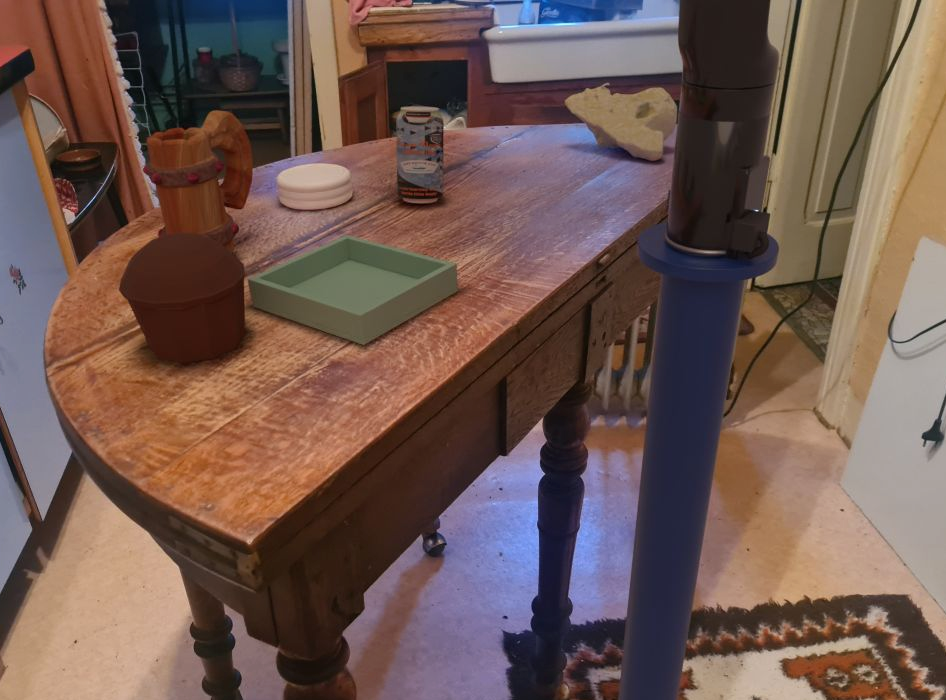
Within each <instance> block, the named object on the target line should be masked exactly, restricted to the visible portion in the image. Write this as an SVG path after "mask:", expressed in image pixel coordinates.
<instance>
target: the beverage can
mask: <svg viewBox="0 0 946 700" xmlns="http://www.w3.org/2000/svg"><path fill="white" fill-rule="evenodd" d="M444 122H445V121H444V118H443V116H442V114H441V113H440V108H439V107H435V106H412V105H411V106H401V107H400V112H399V113H398V115H397V117H396V121H395V123H396V128H395V129H396V187H397V188H396V190H397V192H396V193H397V196H398V197H400V198H402V201H403V202H406V203H409V204H432V203H436V202H437V201H438V199H439V198H442V197H443V195H444V129H445V128H444V127H445V126H444V125H445V124H444Z"/></svg>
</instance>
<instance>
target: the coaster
mask: <svg viewBox="0 0 946 700" xmlns="http://www.w3.org/2000/svg"><path fill="white" fill-rule="evenodd" d="M351 174H352V173H351V171H350V170H349V169H348V168H346V167H345V166H343V165H339V164H334V163H307V164H300V165H295V166H292V167H289V168H287V169H284V170H282V171H281V172H279V173H278V175H277V176H276V178H275V179H276V180H275V182H276V184H277V192H278V200H279V202H280V203H281V204H282V205H283V206H284V207H287V208H289V209H294V210H303V211H313V210H315V211H316V210H324V209H330V208H334V207H338V206H340V205H343V204H345V203H346V202H348V201H349V200H350V199H351V198H352V197H353V194H354V190H353V189H352V187H353V186H352V185H353V182H352V180H351V178H352V175H351Z"/></svg>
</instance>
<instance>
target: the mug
mask: <svg viewBox="0 0 946 700" xmlns="http://www.w3.org/2000/svg"><path fill="white" fill-rule="evenodd" d="M146 147H147V151H148V156H149V162H148V163H146V164H145V165H144V166H143V168H142V172H143V173H144V174H145V175H146V176H148V178H149V180H150V182H151V183H152V184H154V185H155V189H156V194H157V199H158V203H159V206H160V211H161V215H162V218H163V223H164V226H163V227H162V228H160V229H158V231H157V236H158V237H161V236H163V235H168V234H173V233H194V234H200V235H202V236H205V237H208V238H211V239H212V240H214V241H216V242H218V243H219V244H221V245H223V246H224V247H225V248H227V249H228V250H229V251H230V252H231V253H232V254H233V252H234V249H235V244H234V238H235V237H236V235H237V234H238V233H239V231H240V226H239V224H238V223H236V222H234V219H233V216H232V215H231V214H230V213H228V212H227V210H226V208H228V209H234V210H238V211H239V210H243V209H244V208H245V205H246V203H247V200H248V197H249V195H250V189H251V186H252V184H253V175H254V173H253V170H254V169H253V154H252V146H251V142H250V139H249V136H248V135H247V132H246V130H245V128H244V126H243V125H242V123H241V122H240V120H239V119H238V118H237V117H236V116H235V115H234V114H233V113H232V112H230V111H227V110H219V109H218V110H217V109H216V110H211V111H210V112H209V113H208V114H207V115H206V117H205V120H204V122H203V124H202V126H201V127H188V128H187V129H184V128H183V127H173V128H168V129H167V130H166V131H165V132H163V131H156V132H154V133H153V134H152V135H149V137H148V136H147V137H146ZM213 148H215V149H217V150H220V151H221V152H223V153H224V161H225V163H224V162H223V161H222V160H220V159H219V156H218V155H217V154H216V153H215V152H214V151H212V150H213ZM224 169H225V171H224V178H223V180H222V183H221V184H220V182H219V179H218V176H219V175H220V173H221V172H223V170H224Z"/></svg>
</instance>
